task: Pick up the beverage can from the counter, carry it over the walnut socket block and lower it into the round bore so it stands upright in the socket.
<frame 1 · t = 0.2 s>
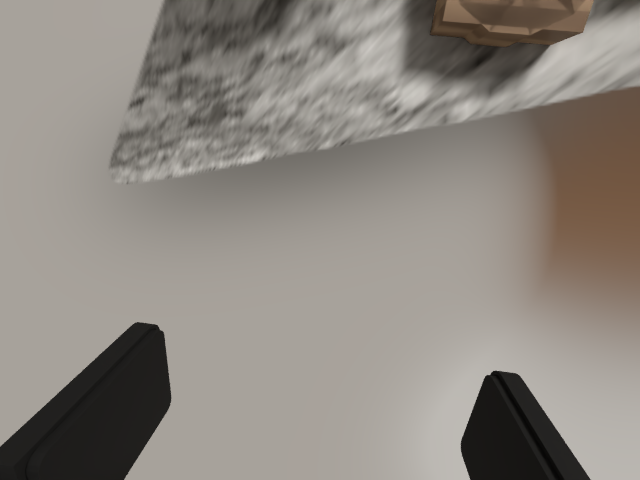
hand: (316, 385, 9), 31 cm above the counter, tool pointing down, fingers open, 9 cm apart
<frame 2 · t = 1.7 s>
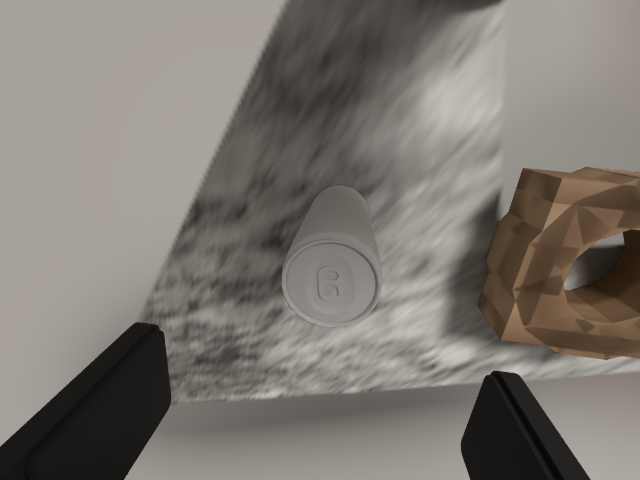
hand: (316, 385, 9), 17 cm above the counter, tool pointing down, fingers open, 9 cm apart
beverage can: (339, 212, 25), on the counter
socket block: (575, 252, 24), on the counter
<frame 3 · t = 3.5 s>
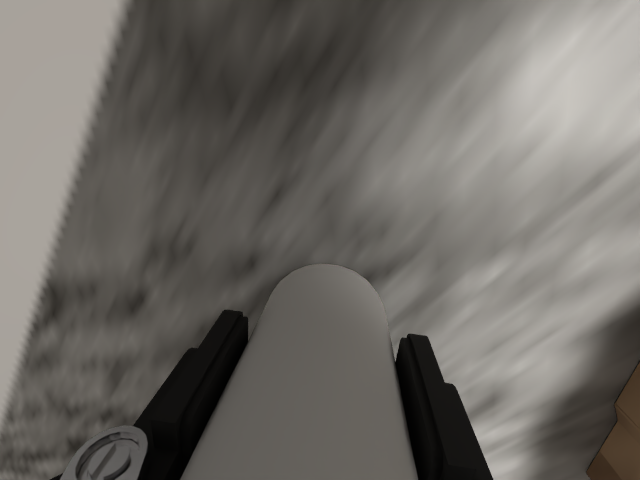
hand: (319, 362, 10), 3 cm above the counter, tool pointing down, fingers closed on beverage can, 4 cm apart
beverage can: (326, 308, 13), on the counter, touching gripper
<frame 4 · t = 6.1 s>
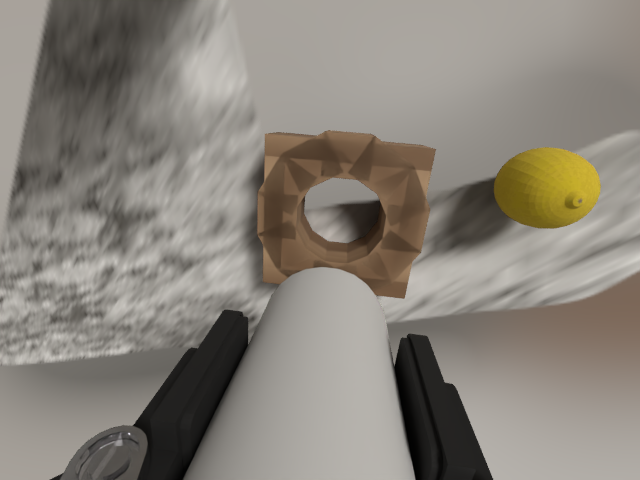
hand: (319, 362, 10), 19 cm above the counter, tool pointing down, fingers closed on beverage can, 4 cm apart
beverage can: (325, 311, 13), point 16 cm above the counter, touching gripper
lemon: (511, 178, 26), on the counter
socket block: (341, 207, 28), on the counter
when the fingers open (5 cm above the counter, at t = 8.5 s): beverage can drops 3 cm, resting in socket block.
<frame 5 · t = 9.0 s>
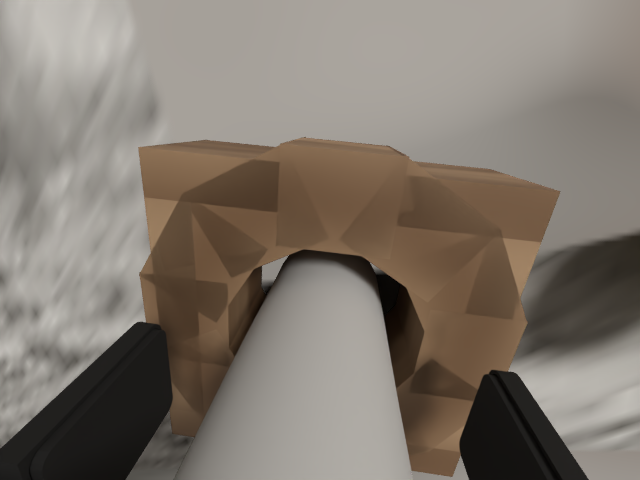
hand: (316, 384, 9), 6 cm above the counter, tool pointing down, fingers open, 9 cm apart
beverage can: (328, 278, 15), resting in socket block
socket block: (329, 280, 15), on the counter
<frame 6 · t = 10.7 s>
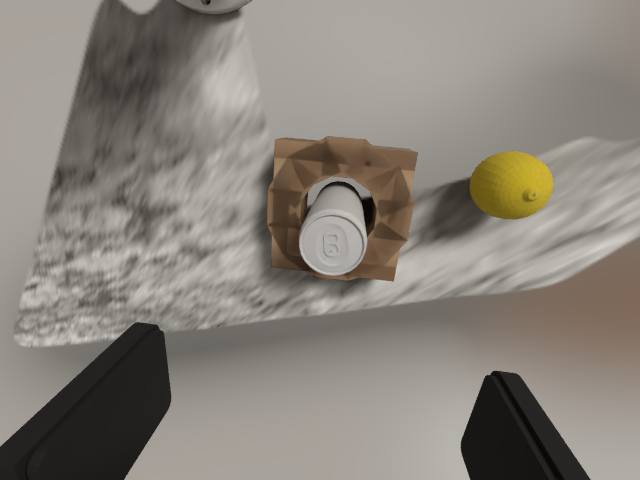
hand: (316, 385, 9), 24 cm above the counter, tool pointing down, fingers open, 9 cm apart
beverage can: (338, 203, 32), resting in socket block
lemon: (486, 177, 30), on the counter
socket block: (339, 203, 32), on the counter
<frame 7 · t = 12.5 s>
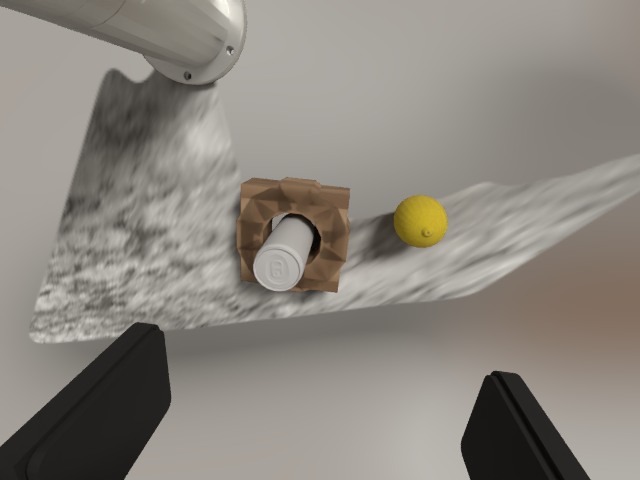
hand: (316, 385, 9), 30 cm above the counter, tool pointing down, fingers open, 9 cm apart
beverage can: (297, 228, 40), resting in socket block
lemon: (412, 210, 38), on the counter
socket block: (297, 229, 40), on the counter
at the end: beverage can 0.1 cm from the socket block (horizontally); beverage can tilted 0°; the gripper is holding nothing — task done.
